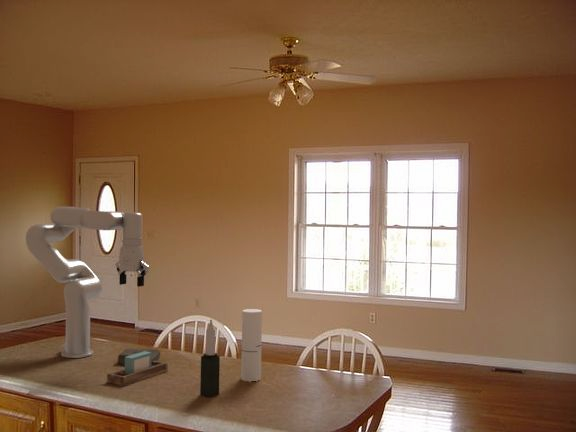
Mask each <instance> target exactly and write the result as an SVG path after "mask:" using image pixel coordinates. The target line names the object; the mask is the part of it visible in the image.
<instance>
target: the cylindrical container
mask: <svg viewBox="0 0 576 432" xmlns="http://www.w3.org/2000/svg"><path fill="white" fill-rule="evenodd" d="M241 311H242V317H241V318H242V319H241V320H242V321H241V324H242V326H241V362H240V363H241V364H240V365H241V367H240V368H241V369H240V370H241V371H240V373H241V374H240V379H242V380H244V381H243V382H246V381H249V382H248V383H252V382H251V381H256V382H259V381H261V380H260V379H261V378H262V340H263V339H262V336H263V335H262V331H263V330H262V328H263V310H261V309H260V308H259V309H257V308H246V309H243V310H241ZM242 380H241V381H242ZM258 380H259V381H258Z"/></svg>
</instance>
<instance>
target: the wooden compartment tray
mask: <svg viewBox="0 0 576 432" xmlns="http://www.w3.org/2000/svg"><path fill="white" fill-rule="evenodd" d="M168 365H169V364H168V363H167V362H162V361H159V360H157V361H153V360H151V367H149V368H146V369H143V370H140V371H137V372H134V373H131V374H127V373H125V368H123V369H120V370H117V371H114V372H111V373H110V372H108V373H107V374H106V382H107V383H108V384H112V385H113V384H114V385H117V386H121V387H126V386H130V385H133V384H135V383H138V382H140V381H141V382H142V381H143V380H147V379H150V378H151V377H155V376H158V375H161V374H164V373H166V372H168V370H169V369H168Z"/></svg>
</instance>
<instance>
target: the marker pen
mask: <svg viewBox="0 0 576 432" xmlns="http://www.w3.org/2000/svg"><path fill="white" fill-rule="evenodd" d="M213 324H214V323H213V319H209V324H208V327H207V328H206V336H205V337H206V339H205V343H206V344H205V353H203V355H201V356H200V386H199V387H200V392H199V393H200V394H199V395H200V396H201V397H205V398H214V397H215V396H218V395H220V365H221V364H220V362H221V361H220V360H221V359H220V355H218V353H216V328H215V327H214V325H213Z"/></svg>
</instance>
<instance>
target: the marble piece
mask: <svg viewBox="0 0 576 432" xmlns="http://www.w3.org/2000/svg"><path fill="white" fill-rule="evenodd" d="M144 351H146V352H152V354H151V360H153V361H159V359H161V350H159V349H151V348H125V349H124V350H123V351H122V352H121V353H119V355H118V357H117V363H118V364H120V365H122V366H123V365H124V366H125V357H127V356H130V355H133V354H137V353H140V352H144Z"/></svg>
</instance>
